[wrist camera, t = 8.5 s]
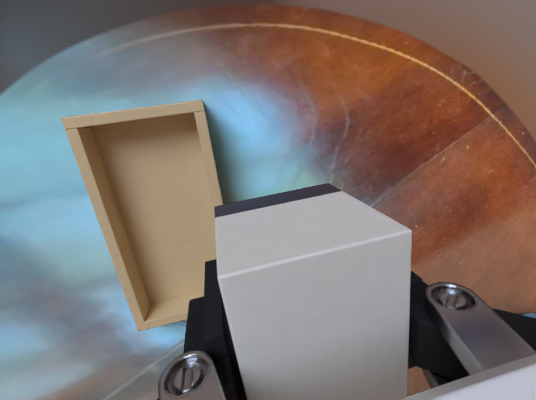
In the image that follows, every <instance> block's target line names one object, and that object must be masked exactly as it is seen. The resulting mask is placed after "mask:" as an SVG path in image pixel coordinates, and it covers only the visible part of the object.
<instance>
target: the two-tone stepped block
mask: <svg viewBox="0 0 536 400" xmlns="http://www.w3.org/2000/svg"><path fill="white" fill-rule="evenodd" d="M214 217H215V238H216V259H217V279H218V283H219V287H220V291H221V295H222V299H223V303H224V308H225V312H226V316H227V320H228V324H229V328H230V332H231V336H232V341H233V345H234V349H235V353H236V357H237V361H238V365H239V369H240V373H241V378H242V382H243V386H244V390H245V394H246V398H247V400H400V399H403V398H405V397H407V388H408V353H409V319H410V285H411V251H412V231H411V229H409V228H407V227H405V226H404V225H402V224H400V223H398V222H396V221H395V220H393V219H391V218H389V217H388V216H386V215H384V214H382V213H380V212H379V211H377V210H375V209H373V208H372V207H370V206H368V205H366V204H364V203H363V202H361V201H359V200H357V199H356V198H354V197H352V196H350V195H349V194H347V193H345V192H343V191H341V190H340V189H338V188H336V187H334V186H332V185H331V184H329V183H327V184H322V185H317V186H312V187H307V188H302V189H297V190H292V191H287V192H283V193H278V194H273V195H268V196H263V197H258V198H253V199H248V200H243V201H239V202H234V203H229V204H224V205H219V206H215V207H214Z"/></svg>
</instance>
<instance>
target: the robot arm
mask: <svg viewBox="0 0 536 400" xmlns="http://www.w3.org/2000/svg"><path fill="white" fill-rule="evenodd" d="M415 366H417V367H420V368H422V371H423V374H424V376H425V378H426V380H427V382H428V383H429V385H430V387H431V389H429V390H426V391H423V392H420V393H417V394H414V395H411V396H408V397H405V398H403V399H400V400H536V318H533V317H528V316H524V315H519V314H515V313H510V312H506V311H501V310H497V309H492V308H490V307H489V306H488V305H487V304H486V303H485V302H484V301H483V300H482V299H481V298H480V297H479V296H478V295H477V294H476V293H474V292H473V291H472V290H470V289H468V288H466V287H464V286H461V285H458V284H455V283H449V282H438V283H433V284H431V285H429V286H428V285H427V284H426V283H424V282H423V281H422V279H421V278H420V277H419V276H417V275H416V274H415V273H414V272H412V271H411V285H410V319H409V353H408V369H409V368H412V367H415ZM158 393H159V398H158V399H157V400H247V398H246V394H245V390H244V386H243V382H242V378H241V373H240V369H239V365H238V361H237V357H236V353H235V349H234V345H233V341H232V336H231V332H230V328H229V324H228V320H227V316H226V312H225V308H224V303H223V299H222V295H221V291H220V287H219V283H218V279H217V259H215V260H210V261H206V262H205V279H204V296H203V297H199V298H195V299H191V300H190V301H189V307H188V316H187V325H186V334H185V343H184V352H183V354H181V355H180V356H178V357H176V358H175V359H174V360H172V361H171V362H170V363H169V364H168V365H167V366H166V368H165V369H164V370H163V372H162V374H161V376H160V379H159V383H158Z"/></svg>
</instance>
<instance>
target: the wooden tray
mask: <svg viewBox="0 0 536 400" xmlns="http://www.w3.org/2000/svg"><path fill="white" fill-rule="evenodd" d="M61 119H62V122H63V125H64V128H65V129H66V133H67V136H68V139H69V142H70V144H71V147H72V150H73V153H74V156H75V158H76V161H77V164H78V167H79V169H80V172H81V175H82V178H83V180H84V183H85V186H86V189H87V191H88V194H89V197H90V200H91V203H92V205H93V208H94V211H95V214H96V216H97V219H98V222H99V225H100V227H101V230H102V233H103V236H104V238H105V241H106V244H107V247H108V250H109V252H110V255H111V258H112V261H113V263H114V266H115V269H116V272H117V274H118V277H119V280H120V283H121V285H122V288H123V291H124V294H125V297H126V299H127V302H128V305H129V308H130V310H131V313H132V316H133V319H134V321H135V324H136V327H137V330H138V331H142V330H146V329H150V328H154V327H158V326H162V325H166V324H170V323H174V322H179V321H183V320H187V316H188V307H189V301H190V300H191V299H195V298H199V297H203V296H204V279H205V262H206V261H210V260H215V259H216V238H215V217H214V207H215V206H219V205H224V204H223V199H222V194H221V189H220V184H219V179H218V173H217V168H216V163H215V158H214V153H213V148H212V143H211V137H210V132H209V127H208V122H207V117H206V112H205V107H204V102H203V100H196V101H188V102H180V103H173V104H165V105H157V106H149V107H142V108H134V109H126V110H118V111H110V112H103V113H95V114H87V115H79V116H71V117H64V118H61Z"/></svg>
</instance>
